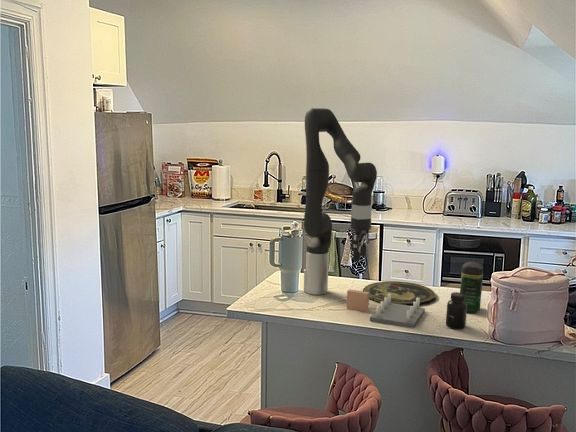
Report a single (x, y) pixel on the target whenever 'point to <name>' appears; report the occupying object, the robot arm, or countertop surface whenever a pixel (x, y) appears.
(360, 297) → the tile
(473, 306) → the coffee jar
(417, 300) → the dish rack
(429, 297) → the decorative plate
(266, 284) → the countertop surface
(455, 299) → the supplement bottle
